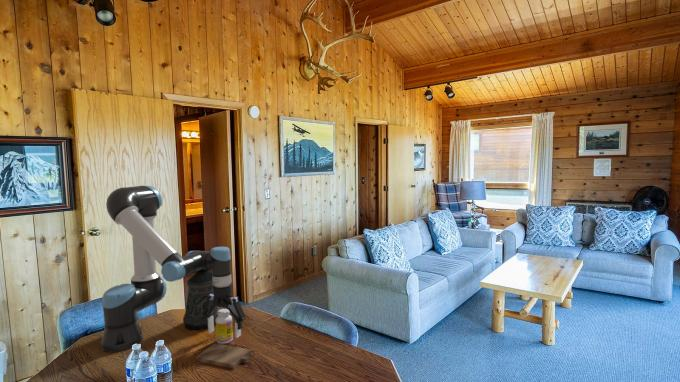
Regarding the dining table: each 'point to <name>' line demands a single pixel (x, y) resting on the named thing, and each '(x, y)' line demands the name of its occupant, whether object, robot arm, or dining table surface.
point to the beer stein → (198, 301)
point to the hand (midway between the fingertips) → (224, 334)
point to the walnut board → (224, 355)
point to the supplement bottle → (224, 327)
